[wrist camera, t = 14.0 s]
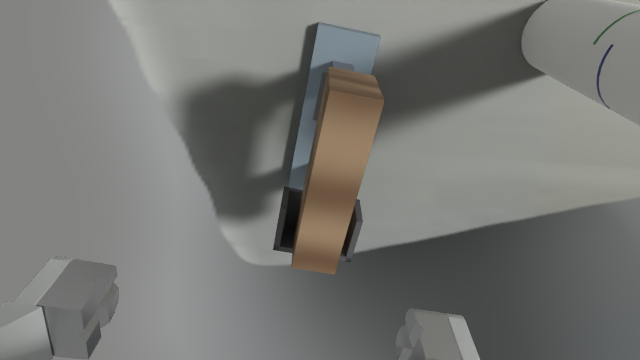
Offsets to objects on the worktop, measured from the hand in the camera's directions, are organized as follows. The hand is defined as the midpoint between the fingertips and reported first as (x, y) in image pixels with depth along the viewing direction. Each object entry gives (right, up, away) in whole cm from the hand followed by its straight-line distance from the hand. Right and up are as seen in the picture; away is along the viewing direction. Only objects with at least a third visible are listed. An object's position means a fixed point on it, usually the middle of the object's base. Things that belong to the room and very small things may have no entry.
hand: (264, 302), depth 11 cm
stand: (+3, +10, +32) cm, 34 cm away
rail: (+2, +5, +23) cm, 24 cm away
